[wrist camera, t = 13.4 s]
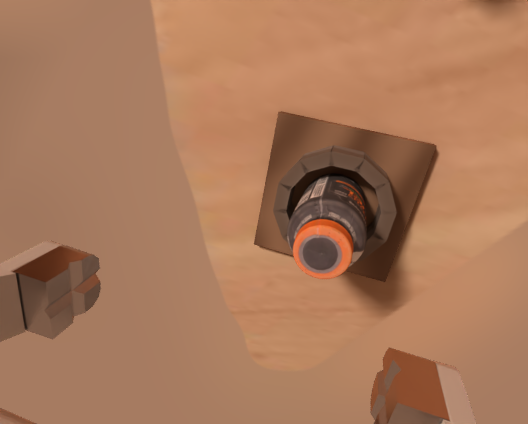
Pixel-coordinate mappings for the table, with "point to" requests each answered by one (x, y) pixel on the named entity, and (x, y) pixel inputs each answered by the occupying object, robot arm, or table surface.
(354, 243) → the pill bottle
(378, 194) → the holder
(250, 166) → the table surface
